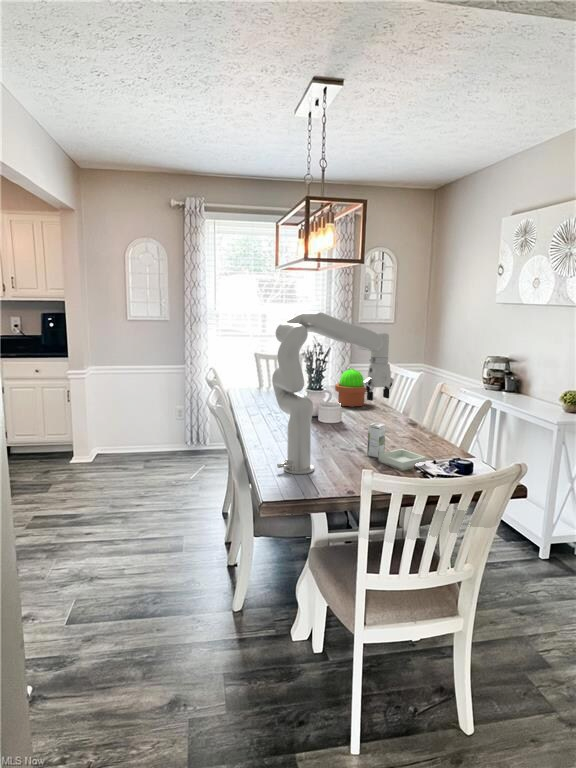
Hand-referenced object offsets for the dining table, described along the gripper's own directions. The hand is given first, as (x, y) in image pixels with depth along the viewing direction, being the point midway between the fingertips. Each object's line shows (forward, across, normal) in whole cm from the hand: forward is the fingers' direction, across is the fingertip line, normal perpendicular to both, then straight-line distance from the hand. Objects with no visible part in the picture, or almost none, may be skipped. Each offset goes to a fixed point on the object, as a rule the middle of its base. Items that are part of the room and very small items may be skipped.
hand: (378, 399), depth 212 cm
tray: (+26, +2, -14) cm, 29 cm away
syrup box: (+26, 0, 0) cm, 26 cm away
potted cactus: (+26, +61, +90) cm, 112 cm away
